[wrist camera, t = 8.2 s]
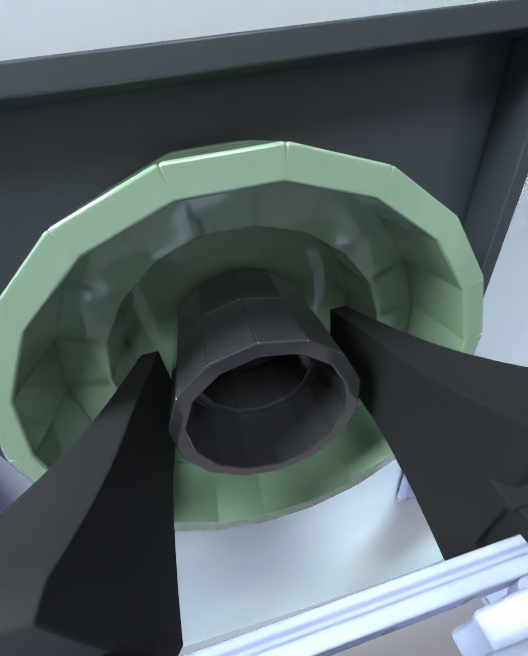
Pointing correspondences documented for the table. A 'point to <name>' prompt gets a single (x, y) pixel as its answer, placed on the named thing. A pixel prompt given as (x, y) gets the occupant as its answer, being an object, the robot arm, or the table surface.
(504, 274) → the table surface
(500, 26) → the tray
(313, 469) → the sage bowl
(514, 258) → the table surface
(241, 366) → the black cup
